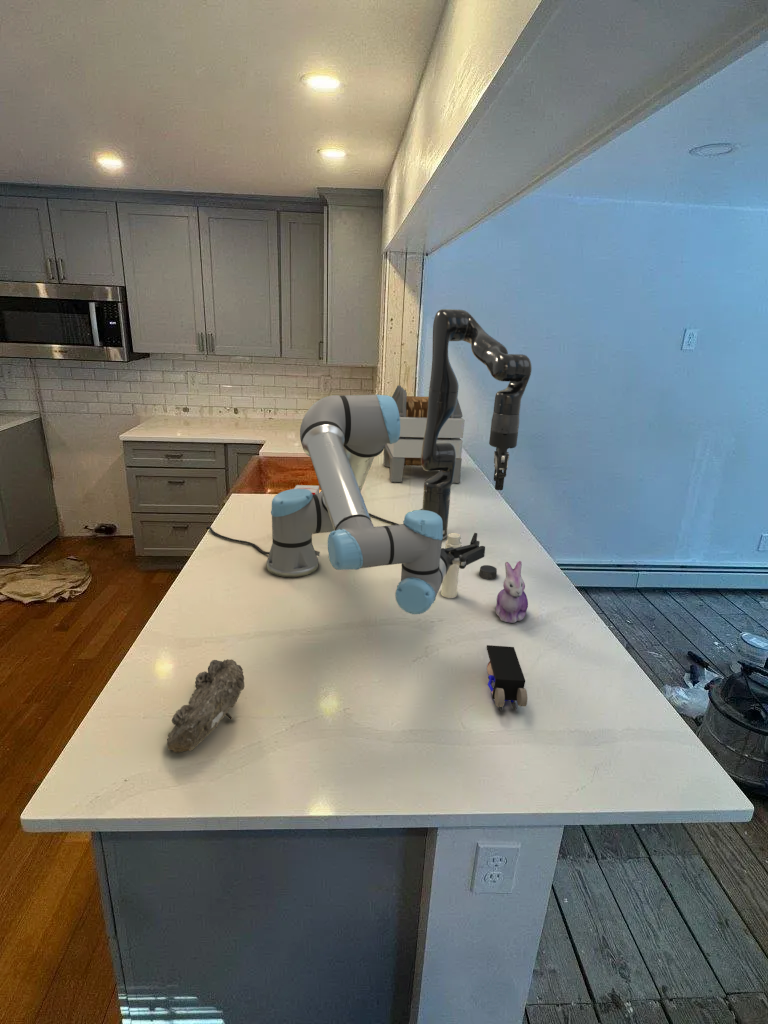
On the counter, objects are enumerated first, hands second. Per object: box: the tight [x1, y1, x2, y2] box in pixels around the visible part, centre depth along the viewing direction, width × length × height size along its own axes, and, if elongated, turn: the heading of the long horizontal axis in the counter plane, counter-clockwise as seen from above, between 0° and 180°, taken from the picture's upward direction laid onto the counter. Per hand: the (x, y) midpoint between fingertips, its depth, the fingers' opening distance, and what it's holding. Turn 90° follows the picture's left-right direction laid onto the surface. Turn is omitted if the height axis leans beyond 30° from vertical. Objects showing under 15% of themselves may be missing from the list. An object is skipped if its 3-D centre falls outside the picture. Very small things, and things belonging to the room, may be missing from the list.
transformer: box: [383, 384, 465, 484], centre depth 268 cm, size 34×33×41 cm
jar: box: [440, 532, 462, 599], centre depth 156 cm, size 4×4×18 cm
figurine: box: [495, 560, 529, 624], centre depth 147 cm, size 9×10×15 cm
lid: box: [478, 564, 498, 580], centre depth 171 cm, size 5×5×2 cm
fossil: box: [166, 658, 245, 754], centre depth 106 cm, size 22×10×15 cm
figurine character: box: [485, 644, 528, 712], centre depth 117 cm, size 7×8×15 cm
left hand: (448, 533), depth 142 cm, fingers open, 13 cm apart
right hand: (497, 485), depth 162 cm, fingers open, 8 cm apart
